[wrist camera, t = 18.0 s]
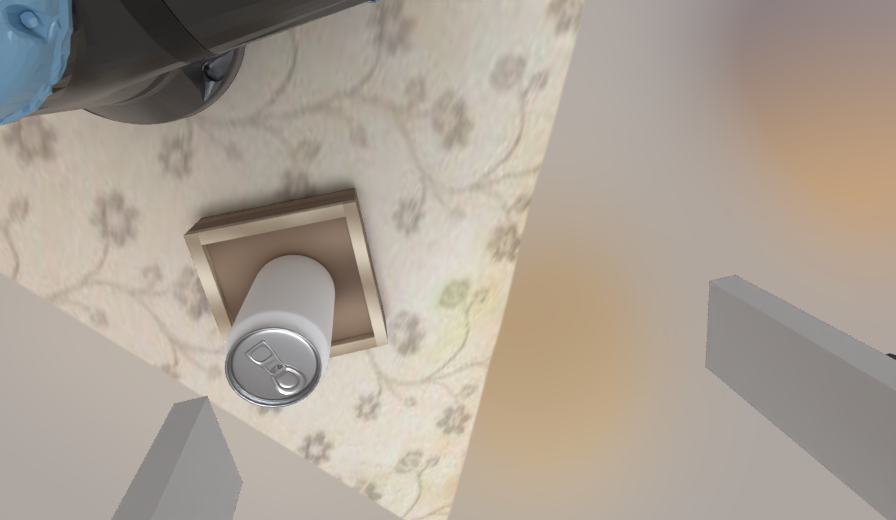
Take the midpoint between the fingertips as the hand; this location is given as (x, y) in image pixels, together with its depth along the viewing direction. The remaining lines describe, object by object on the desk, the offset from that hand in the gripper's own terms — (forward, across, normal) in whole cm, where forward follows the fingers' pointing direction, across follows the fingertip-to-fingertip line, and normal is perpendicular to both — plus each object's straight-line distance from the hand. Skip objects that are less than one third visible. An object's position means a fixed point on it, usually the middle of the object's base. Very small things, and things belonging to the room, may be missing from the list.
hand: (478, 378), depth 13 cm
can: (+29, -10, -8) cm, 32 cm away
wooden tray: (+33, -10, -8) cm, 35 cm away
